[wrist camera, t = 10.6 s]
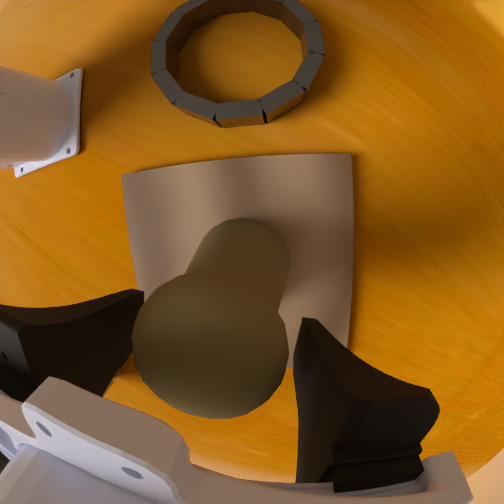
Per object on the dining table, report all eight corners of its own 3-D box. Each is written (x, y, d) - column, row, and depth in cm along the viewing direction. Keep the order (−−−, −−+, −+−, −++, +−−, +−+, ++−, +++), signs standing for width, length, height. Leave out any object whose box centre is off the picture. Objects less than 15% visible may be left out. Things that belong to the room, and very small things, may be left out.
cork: (308, 274, 17) (345, 398, 7) (235, 323, 19) (197, 455, 8) (249, 197, 16) (202, 229, 6) (178, 255, 18) (74, 345, 7)
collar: (166, 136, 17) (151, 131, 14) (167, 17, 14) (155, 2, 12) (326, 122, 16) (334, 113, 13) (306, 0, 13) (308, -18, 11)
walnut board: (161, 357, 21) (157, 363, 20) (128, 174, 18) (121, 174, 17) (342, 356, 20) (345, 363, 19) (347, 155, 16) (351, 153, 15)
